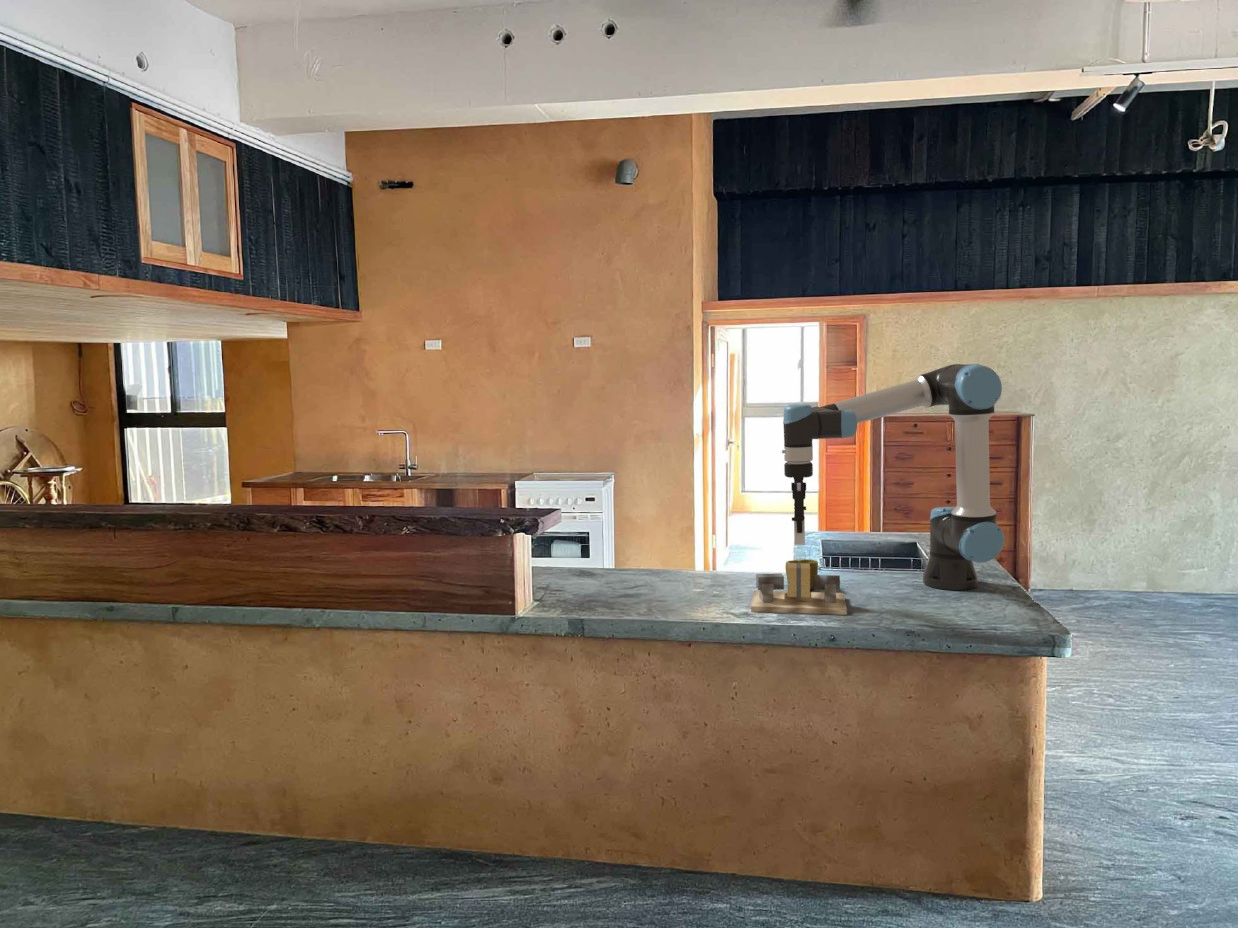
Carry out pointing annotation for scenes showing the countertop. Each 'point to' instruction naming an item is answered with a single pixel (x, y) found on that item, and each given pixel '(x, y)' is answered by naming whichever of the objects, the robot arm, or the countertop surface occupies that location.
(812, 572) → the mug
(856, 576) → the countertop surface
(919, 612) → the countertop surface
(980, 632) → the countertop surface
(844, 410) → the robot arm
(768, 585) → the shaft rig
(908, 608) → the countertop surface
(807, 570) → the tan cardboard block
